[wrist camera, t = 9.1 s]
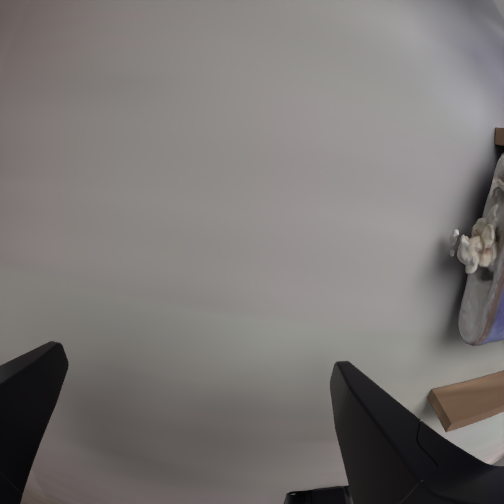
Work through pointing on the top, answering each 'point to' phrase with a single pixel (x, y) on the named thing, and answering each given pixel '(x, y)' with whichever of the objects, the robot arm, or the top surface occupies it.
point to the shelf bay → (470, 388)
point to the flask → (484, 269)
